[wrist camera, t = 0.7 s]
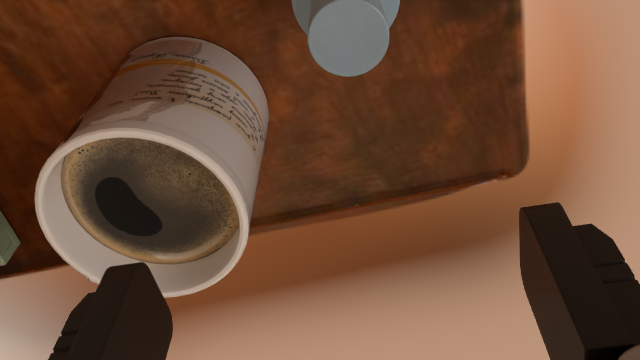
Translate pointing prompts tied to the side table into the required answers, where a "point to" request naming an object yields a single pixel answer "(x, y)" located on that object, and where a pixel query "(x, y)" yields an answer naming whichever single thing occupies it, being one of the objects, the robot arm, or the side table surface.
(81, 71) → the side table surface
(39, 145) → the side table surface
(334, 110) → the side table surface
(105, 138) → the mug
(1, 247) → the tray
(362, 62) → the blue bottle
